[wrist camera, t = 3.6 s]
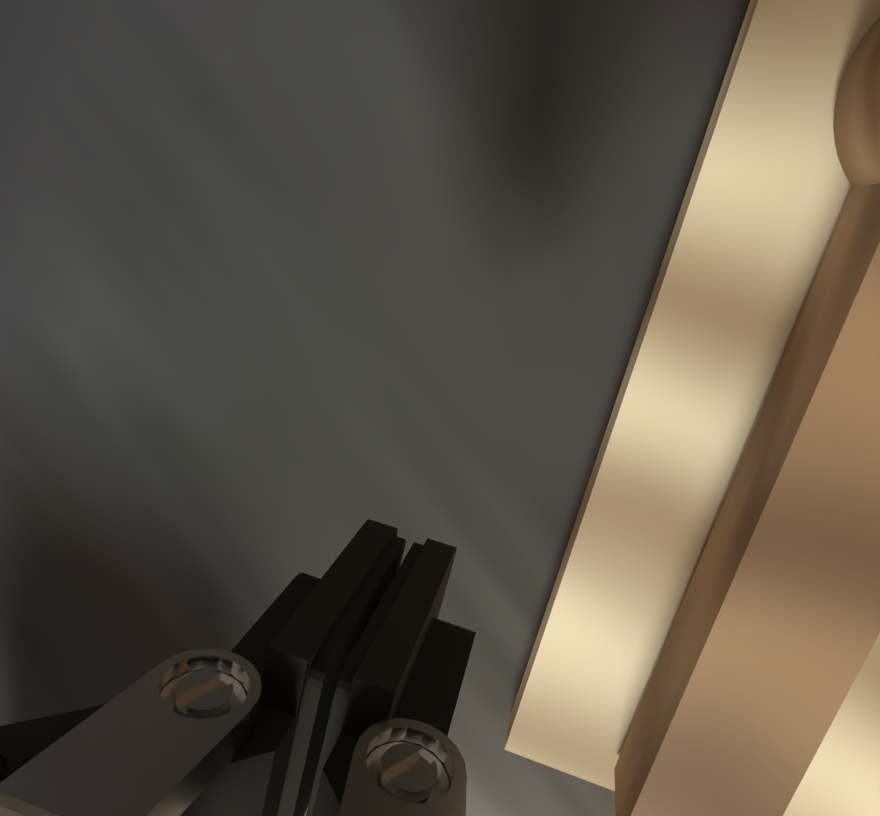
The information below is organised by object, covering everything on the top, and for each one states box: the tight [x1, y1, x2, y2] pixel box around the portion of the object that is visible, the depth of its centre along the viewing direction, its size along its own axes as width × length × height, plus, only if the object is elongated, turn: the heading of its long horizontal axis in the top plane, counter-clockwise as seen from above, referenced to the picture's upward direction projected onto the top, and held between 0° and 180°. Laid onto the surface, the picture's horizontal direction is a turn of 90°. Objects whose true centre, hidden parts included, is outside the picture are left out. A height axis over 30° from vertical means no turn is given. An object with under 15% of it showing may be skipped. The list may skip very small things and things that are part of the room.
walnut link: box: [614, 17, 880, 816], centre depth 13 cm, size 20×5×4 cm, turn 166°
